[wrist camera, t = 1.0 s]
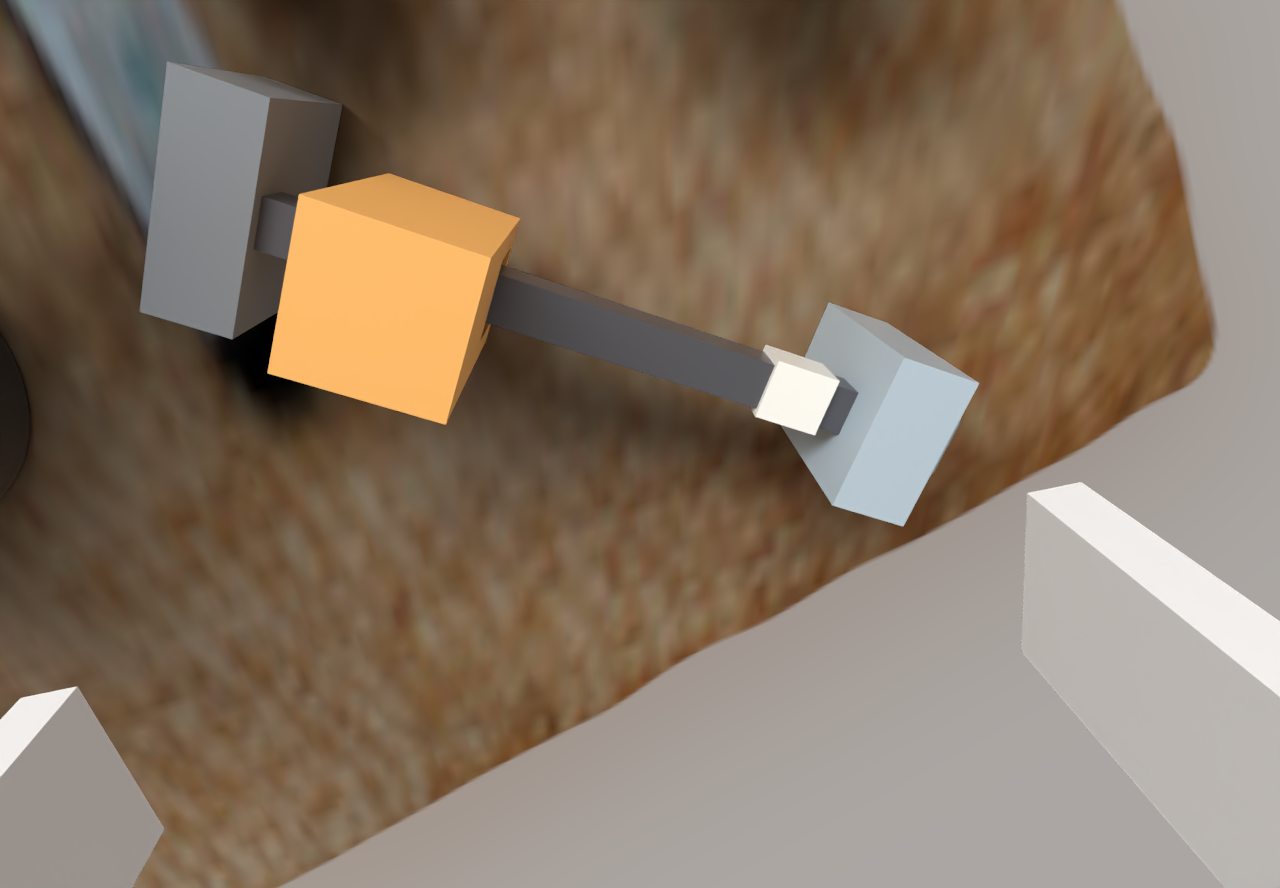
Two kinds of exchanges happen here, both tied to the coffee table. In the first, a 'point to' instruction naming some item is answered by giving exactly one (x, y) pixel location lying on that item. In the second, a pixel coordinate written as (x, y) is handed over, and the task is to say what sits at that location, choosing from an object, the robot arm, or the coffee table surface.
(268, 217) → the rail rig
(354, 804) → the coffee table surface
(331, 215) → the orange sliding sleeve
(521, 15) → the coffee table surface
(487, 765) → the coffee table surface
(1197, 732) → the robot arm
